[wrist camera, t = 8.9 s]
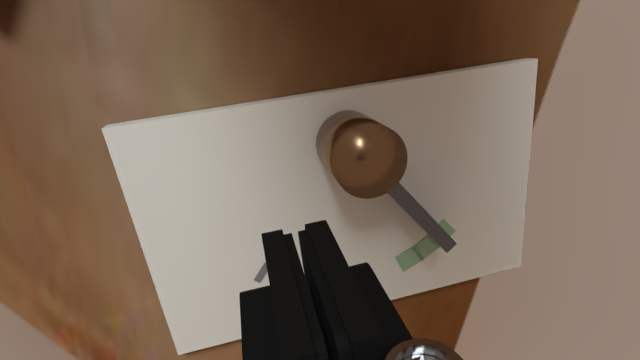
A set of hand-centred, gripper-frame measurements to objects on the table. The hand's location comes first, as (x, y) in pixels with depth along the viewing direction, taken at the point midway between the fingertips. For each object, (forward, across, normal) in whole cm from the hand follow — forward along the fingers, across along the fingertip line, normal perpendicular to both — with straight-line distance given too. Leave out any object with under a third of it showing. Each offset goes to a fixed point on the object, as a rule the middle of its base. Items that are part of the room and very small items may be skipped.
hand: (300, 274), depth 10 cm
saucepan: (+16, -8, +6) cm, 19 cm away
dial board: (+18, -6, +8) cm, 20 cm away
